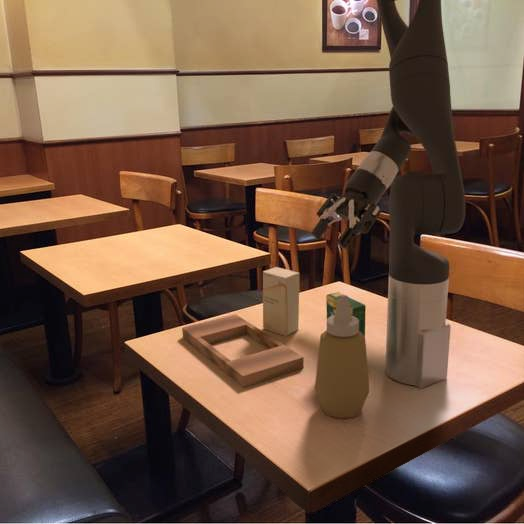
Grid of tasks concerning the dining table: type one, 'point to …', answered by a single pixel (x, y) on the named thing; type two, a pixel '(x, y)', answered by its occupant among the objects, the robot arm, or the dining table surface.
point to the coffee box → (355, 308)
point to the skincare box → (280, 300)
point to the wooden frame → (250, 366)
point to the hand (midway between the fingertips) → (327, 241)
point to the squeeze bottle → (342, 364)
